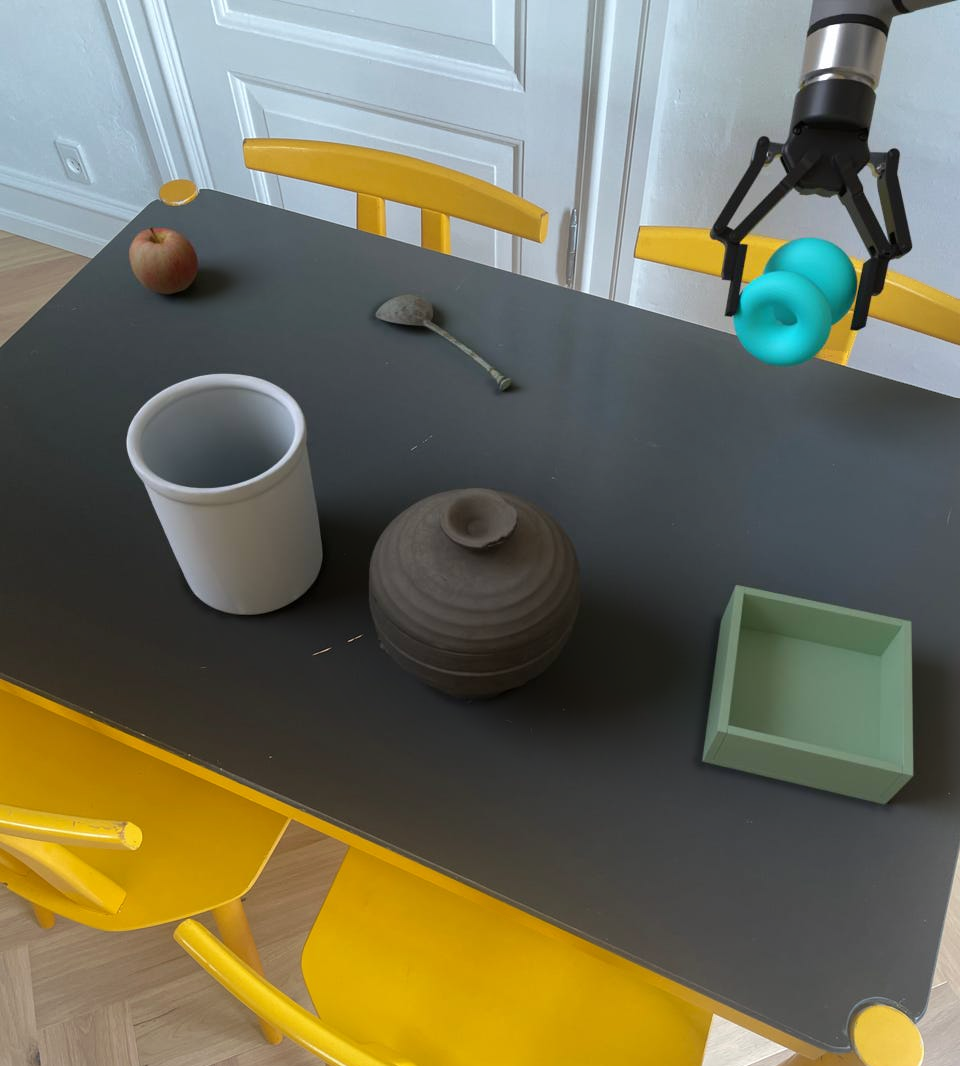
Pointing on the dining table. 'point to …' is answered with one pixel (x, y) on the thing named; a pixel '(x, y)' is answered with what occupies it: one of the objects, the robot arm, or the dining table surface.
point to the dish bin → (812, 695)
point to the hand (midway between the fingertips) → (793, 321)
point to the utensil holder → (231, 489)
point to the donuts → (795, 302)
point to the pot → (474, 591)
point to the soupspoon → (428, 325)
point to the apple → (163, 260)
